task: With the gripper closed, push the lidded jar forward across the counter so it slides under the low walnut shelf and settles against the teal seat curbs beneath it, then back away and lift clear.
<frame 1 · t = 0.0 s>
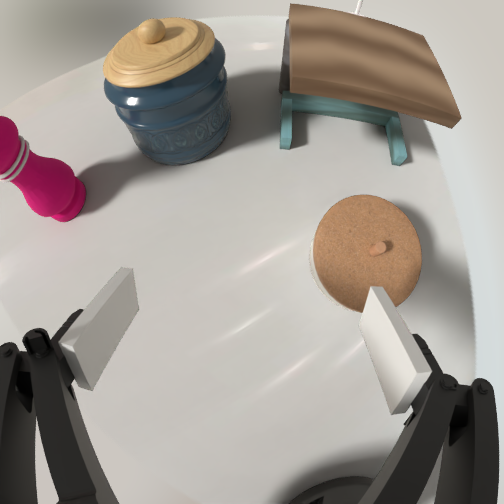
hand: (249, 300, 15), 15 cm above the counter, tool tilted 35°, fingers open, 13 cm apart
pepper mill: (69, 201, 33), on the counter
overhang shelf: (340, 125, 35), on the counter
lidded jar: (346, 265, 31), on the counter
canister: (183, 127, 35), on the counter
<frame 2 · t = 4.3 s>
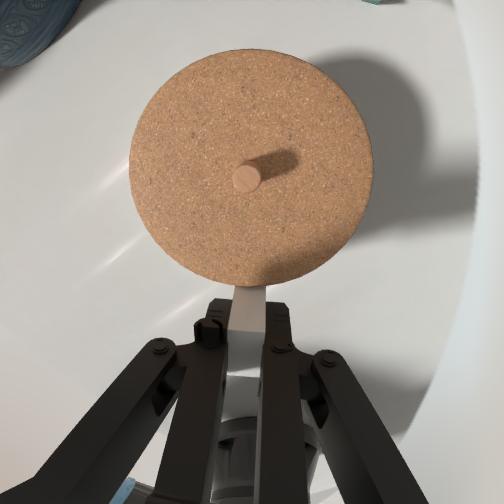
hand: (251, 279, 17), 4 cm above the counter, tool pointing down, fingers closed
lidded jar: (254, 157, 19), on the counter, touching gripper
canister: (38, 9, 13), on the counter
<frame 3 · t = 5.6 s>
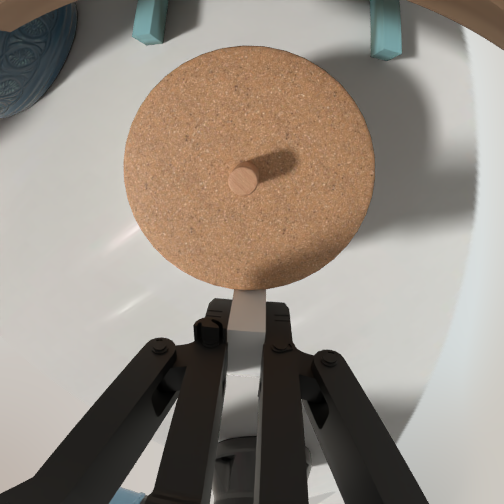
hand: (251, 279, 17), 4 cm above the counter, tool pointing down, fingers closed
lidded jar: (253, 156, 18), on the counter, touching gripper
canister: (28, 49, 14), on the counter
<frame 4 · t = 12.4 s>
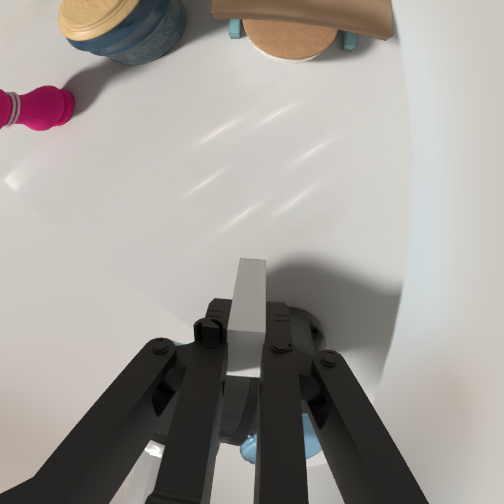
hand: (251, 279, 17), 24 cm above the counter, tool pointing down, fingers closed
pepper mill: (61, 107, 35), on the counter
overhang shelf: (293, 12, 29), on the counter
lidded jar: (286, 37, 31), on the counter
canister: (145, 28, 30), on the counter
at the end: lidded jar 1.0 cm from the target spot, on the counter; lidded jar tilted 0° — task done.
